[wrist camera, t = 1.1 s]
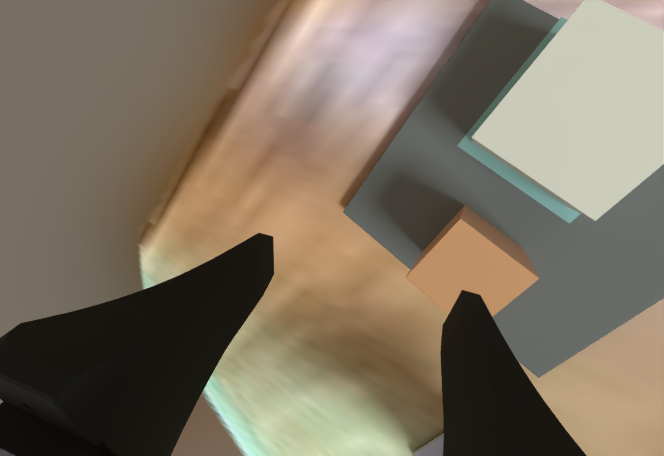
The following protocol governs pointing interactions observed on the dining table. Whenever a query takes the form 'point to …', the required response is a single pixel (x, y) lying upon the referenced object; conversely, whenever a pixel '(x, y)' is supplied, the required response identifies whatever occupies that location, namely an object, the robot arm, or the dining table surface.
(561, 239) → the grey flat plate
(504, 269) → the terracotta block
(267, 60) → the dining table surface
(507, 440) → the robot arm
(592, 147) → the base block
